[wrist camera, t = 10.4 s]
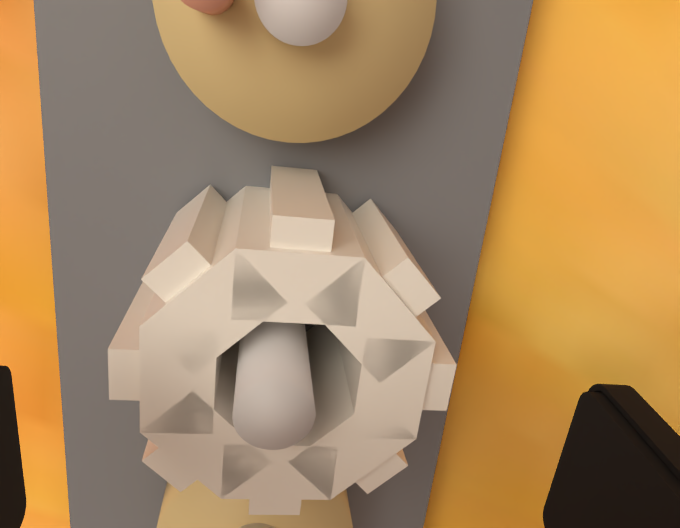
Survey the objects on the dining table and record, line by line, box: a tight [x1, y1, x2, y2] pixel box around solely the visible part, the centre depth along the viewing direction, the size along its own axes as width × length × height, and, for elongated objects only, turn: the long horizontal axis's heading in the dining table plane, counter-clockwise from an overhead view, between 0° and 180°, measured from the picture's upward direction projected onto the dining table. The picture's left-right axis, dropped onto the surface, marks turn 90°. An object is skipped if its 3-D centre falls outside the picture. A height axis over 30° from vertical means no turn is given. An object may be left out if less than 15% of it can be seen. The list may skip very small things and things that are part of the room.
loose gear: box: [108, 166, 457, 515], centre depth 14 cm, size 7×7×5 cm
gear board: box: [34, 0, 533, 528], centre depth 15 cm, size 12×22×8 cm, turn 174°
